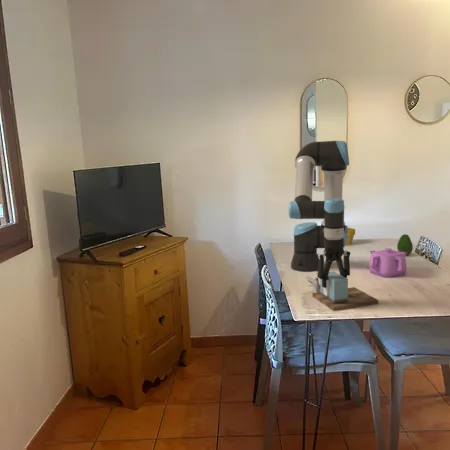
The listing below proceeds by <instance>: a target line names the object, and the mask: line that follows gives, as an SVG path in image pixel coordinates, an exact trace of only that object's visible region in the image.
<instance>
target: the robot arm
mask: <svg viewBox="0 0 450 450" xmlns="http://www.w3.org/2000/svg"><path fill="white" fill-rule="evenodd" d="M348 149H349V148H348V144H347V142H346V141H344V140H326V141H325V140H324V141H323V140H321V141H312V142H308V143H306V144H305V145H304V146H303V147H302V148H301V149H300V150H299V151H298V152H297V154H296V156H295V159H294V167H295V169H296V173H295V187H294V200H291V201H290V200H289V203H288V217H289V219H292V220H293V219H295V220H315V219H316V220H322V221H320V222H321V223H320V224H321V225H318V223H317V222H315V221H313V222H312V221H310V222H302V223H298V224H296V225H294V228H293V256H292V258H291V261H290V268H291V269H292V270H294V271H296V272H297V271H299V272H315V271H317V275H316V278H318V279H319V280H320V279H322V287H324V294H325V295H326V296H329V280H327V277H328V274H329V272H330V270H331V266H332V265H333V262H336V265H337V268H338V269H337V270H338V272H339V275H341V276H343V277H345V278H347V279H348V276H350V275H351V268H350V267H351V266H350V255H351V251H348V250H344V248H345V247H346V246H347V245H346V241H347V233H348V228H349V226H348V225H347V224H346V222H345V200H344V199H343V183H344V181H343V177H344V176H343V173H344V172H345V171H346V170H347V166H350V159H349V158H350V157H349V150H348ZM315 167H320V168H321V170H320V171H322V172H323V175H324V176H323V177H324V181H323V182H324V183H323V184H324V186H323V188H324V190H323V192H324V199H323V200H313V182H314V169H315ZM318 249H324V251H323V252H322V253H318ZM342 257H343V258H342ZM324 263H325V264H324Z"/></svg>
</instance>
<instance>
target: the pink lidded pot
mask: <svg viewBox="0 0 450 450" xmlns="http://www.w3.org/2000/svg"><path fill="white" fill-rule="evenodd" d="M406 253H407V252H399V251H398V250H394V249H392V248H391V247H386V248H384V249H382V250H381V249H380V250H370V254H371V256H370V257H369V263H368V269H369V273H370V274H373V275H374V276H379V277H381V278H384V279H389V278H395V277H400V276H403V275H405V274H406V272H407V268H408V267H407V258H406Z"/></svg>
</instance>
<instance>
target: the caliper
mask: <svg viewBox="0 0 450 450" xmlns="http://www.w3.org/2000/svg"><path fill="white" fill-rule="evenodd" d="M305 279H306V280H307V281H308V282H311V283H312V285H313V286H314V289H315V291H316V293H317V292H320V281H319V280H320V279H319V278H318V277H315V278H312V277H310V276H306V277H305Z"/></svg>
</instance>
